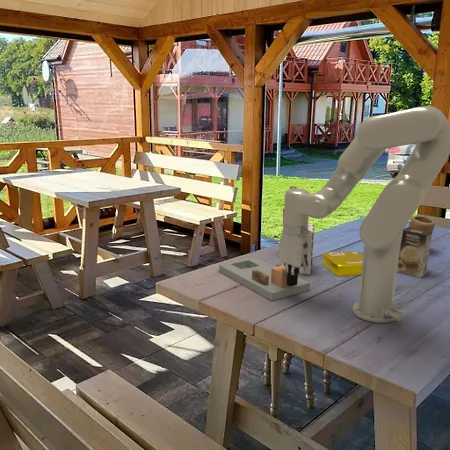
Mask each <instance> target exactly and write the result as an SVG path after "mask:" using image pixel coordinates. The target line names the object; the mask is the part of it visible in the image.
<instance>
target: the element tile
mask: <svg viewBox="0 0 450 450" xmlns="http://www.w3.org/2000/svg"><path fill="white" fill-rule="evenodd" d="M321 262H322V263H321V264H322V265H323V266H325V268H327V269H328V270H329V271H330V272H331V273H333V274H334V275H335V276H338V277H347V276H350V277H351V276H361V272H362V262H363V254H362V253H360V252H359V251H357V250H356V251H354V250H353V251H336V252H332V251H331V252H330V251H329V252H323V254H322V261H321Z"/></svg>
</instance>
